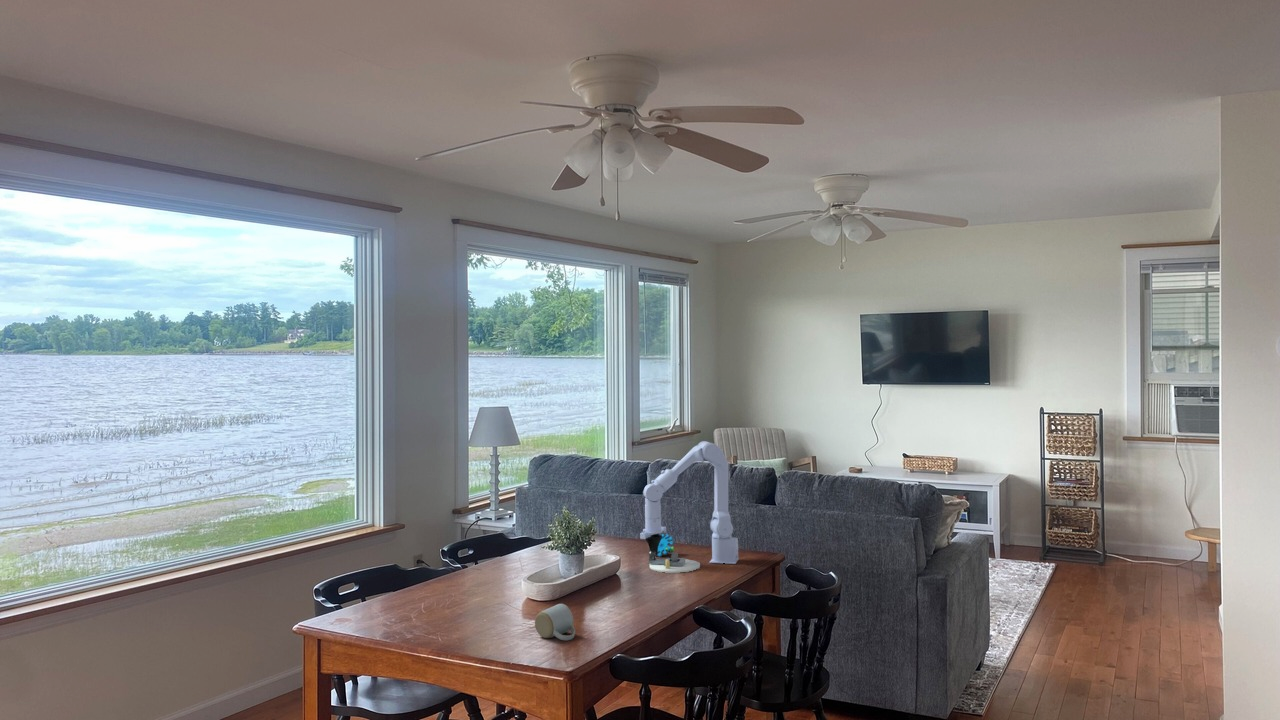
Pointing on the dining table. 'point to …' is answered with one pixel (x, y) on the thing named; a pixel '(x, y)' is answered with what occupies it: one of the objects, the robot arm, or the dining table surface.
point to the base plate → (687, 566)
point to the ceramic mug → (555, 622)
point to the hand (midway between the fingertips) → (653, 555)
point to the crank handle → (662, 561)
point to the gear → (665, 545)
